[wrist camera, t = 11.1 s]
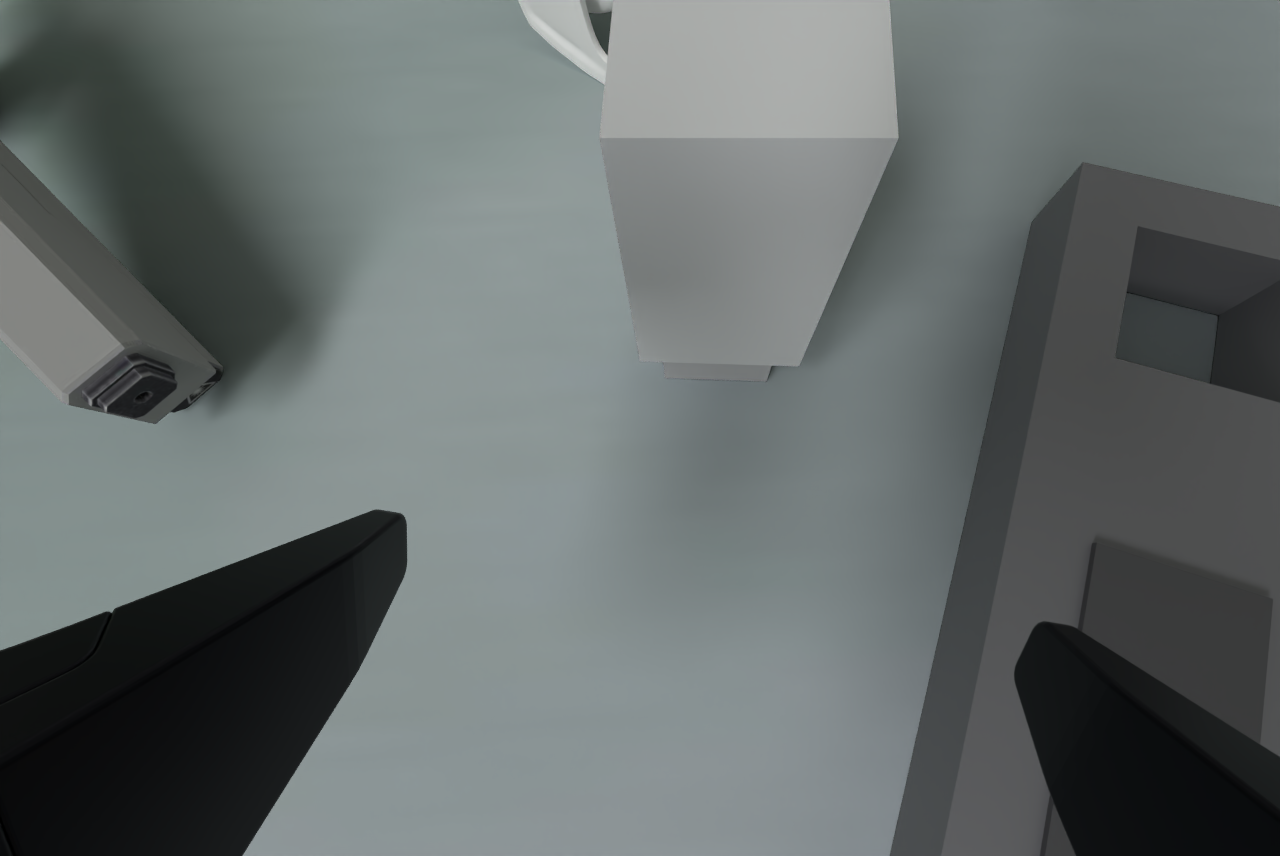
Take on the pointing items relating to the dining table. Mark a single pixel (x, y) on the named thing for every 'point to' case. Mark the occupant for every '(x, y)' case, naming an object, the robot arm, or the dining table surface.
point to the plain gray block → (741, 169)
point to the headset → (570, 30)
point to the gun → (87, 312)
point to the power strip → (1111, 500)
